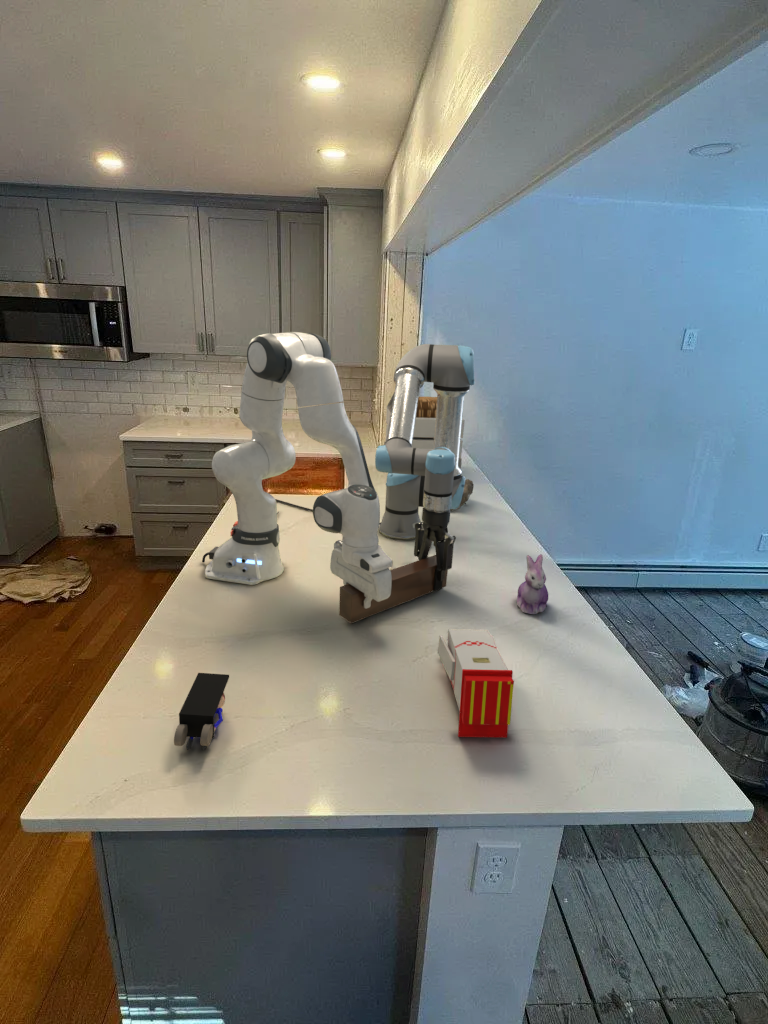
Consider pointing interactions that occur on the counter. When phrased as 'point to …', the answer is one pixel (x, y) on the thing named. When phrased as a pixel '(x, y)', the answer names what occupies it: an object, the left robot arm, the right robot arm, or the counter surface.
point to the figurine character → (201, 710)
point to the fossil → (466, 492)
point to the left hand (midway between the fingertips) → (358, 601)
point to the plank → (404, 588)
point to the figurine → (533, 588)
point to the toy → (478, 682)
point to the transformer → (424, 424)
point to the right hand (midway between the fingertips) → (430, 585)
